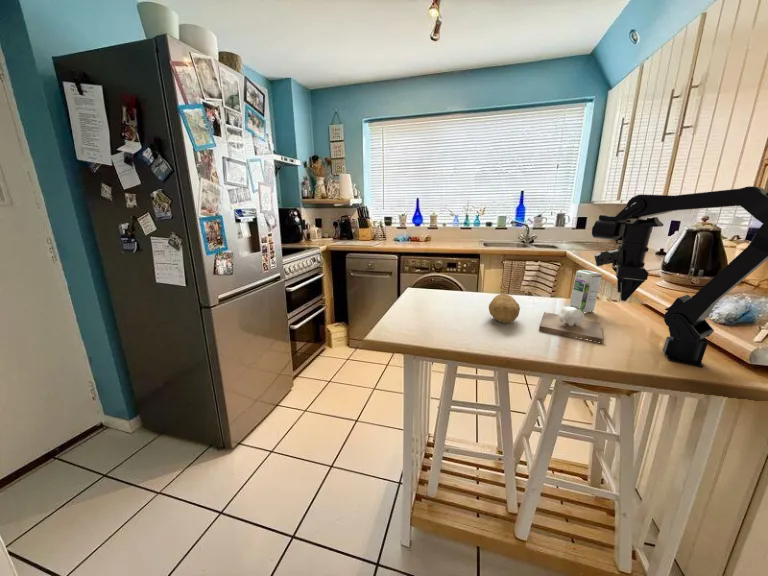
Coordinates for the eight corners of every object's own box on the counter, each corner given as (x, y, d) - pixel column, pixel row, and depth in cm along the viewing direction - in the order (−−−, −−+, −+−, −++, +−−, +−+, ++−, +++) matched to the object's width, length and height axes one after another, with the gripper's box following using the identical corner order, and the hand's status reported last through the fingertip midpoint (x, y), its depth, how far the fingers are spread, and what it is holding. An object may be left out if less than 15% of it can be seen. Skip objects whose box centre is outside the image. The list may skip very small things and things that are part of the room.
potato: (487, 326, 96) (489, 302, 94) (487, 311, 109) (490, 290, 106) (520, 331, 93) (524, 306, 91) (517, 315, 106) (520, 293, 103)
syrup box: (568, 308, 113) (575, 270, 109) (580, 307, 114) (588, 269, 110) (581, 314, 107) (589, 274, 103) (594, 312, 109) (603, 273, 105)
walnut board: (599, 326, 97) (600, 322, 97) (601, 343, 86) (602, 338, 85) (543, 316, 105) (544, 312, 105) (538, 330, 94) (539, 325, 93)
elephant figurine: (551, 320, 98) (554, 302, 96) (576, 320, 98) (579, 302, 96) (563, 328, 91) (567, 310, 90) (590, 328, 91) (594, 310, 90)
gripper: (597, 236, 95) (587, 284, 100) (600, 243, 80) (588, 300, 84) (643, 239, 90) (630, 290, 94) (656, 247, 74) (639, 307, 79)
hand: (621, 296), depth 88 cm, fingers open, 9 cm apart
